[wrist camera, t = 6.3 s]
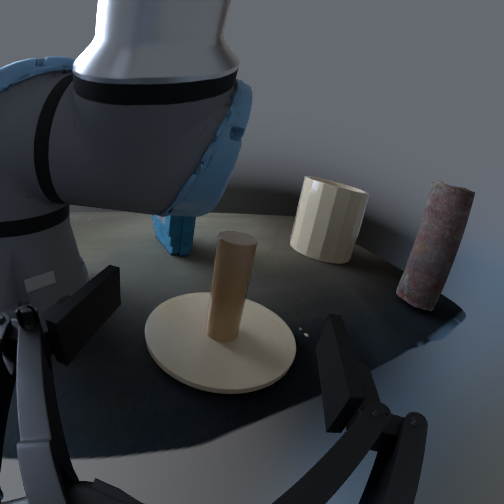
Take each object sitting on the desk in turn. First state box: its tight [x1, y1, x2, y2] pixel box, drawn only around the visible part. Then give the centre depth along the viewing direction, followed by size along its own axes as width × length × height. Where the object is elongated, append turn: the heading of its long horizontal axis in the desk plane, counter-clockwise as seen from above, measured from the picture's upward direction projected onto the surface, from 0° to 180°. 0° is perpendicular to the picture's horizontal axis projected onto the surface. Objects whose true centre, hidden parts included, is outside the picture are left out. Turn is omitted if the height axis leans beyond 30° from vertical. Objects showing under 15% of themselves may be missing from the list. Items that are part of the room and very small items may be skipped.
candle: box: [396, 181, 475, 311], centre depth 36 cm, size 8×7×20 cm
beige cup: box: [290, 176, 369, 264], centre depth 54 cm, size 13×13×14 cm
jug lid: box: [145, 231, 296, 394], centre depth 24 cm, size 14×14×10 cm
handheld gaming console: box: [152, 215, 196, 256], centre depth 42 cm, size 10×4×15 cm, turn 36°
